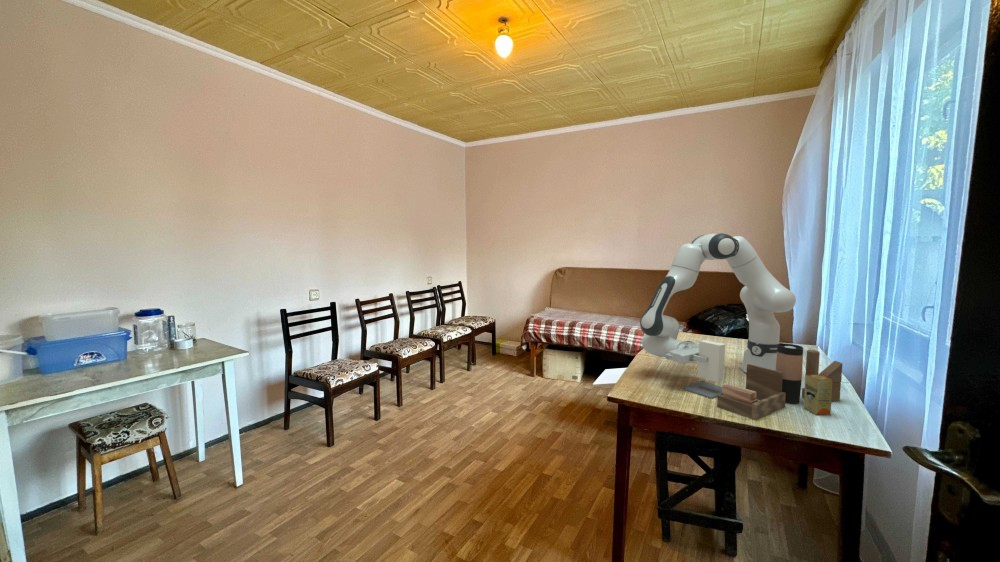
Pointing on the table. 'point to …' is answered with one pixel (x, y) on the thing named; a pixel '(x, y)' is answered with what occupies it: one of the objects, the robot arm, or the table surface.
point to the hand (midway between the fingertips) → (710, 359)
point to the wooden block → (824, 372)
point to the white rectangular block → (711, 360)
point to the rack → (758, 393)
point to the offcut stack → (739, 394)
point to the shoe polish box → (818, 394)
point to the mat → (704, 389)
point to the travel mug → (790, 370)
